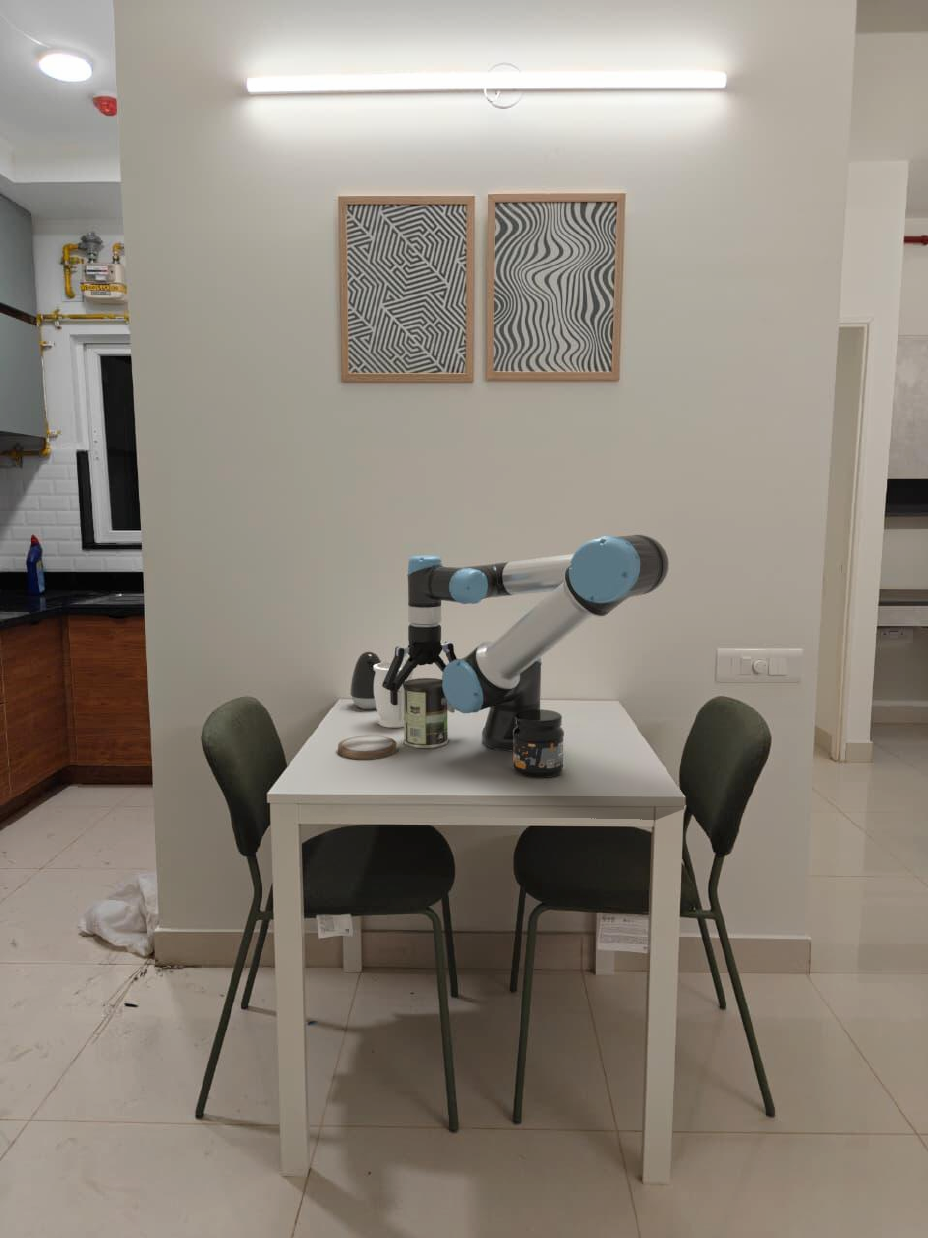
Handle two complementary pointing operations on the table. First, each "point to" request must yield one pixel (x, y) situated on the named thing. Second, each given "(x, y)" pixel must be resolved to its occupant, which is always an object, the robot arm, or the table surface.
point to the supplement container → (538, 743)
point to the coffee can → (425, 713)
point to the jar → (387, 696)
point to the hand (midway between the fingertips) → (424, 714)
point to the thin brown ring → (367, 747)
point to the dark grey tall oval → (364, 681)
